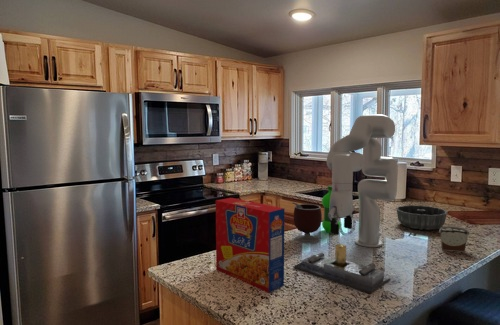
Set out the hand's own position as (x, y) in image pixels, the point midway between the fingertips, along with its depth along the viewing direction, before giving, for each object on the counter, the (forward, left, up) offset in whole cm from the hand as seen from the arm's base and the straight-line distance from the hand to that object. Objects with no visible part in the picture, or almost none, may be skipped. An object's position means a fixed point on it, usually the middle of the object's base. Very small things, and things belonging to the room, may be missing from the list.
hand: (341, 230), depth 133 cm
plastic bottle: (-47, -33, -17) cm, 59 cm away
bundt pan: (-92, -2, -17) cm, 93 cm away
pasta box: (+27, -23, -17) cm, 40 cm away
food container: (-62, +22, -17) cm, 68 cm away
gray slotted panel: (0, 0, -17) cm, 17 cm away
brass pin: (0, 0, -16) cm, 16 cm away
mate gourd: (-25, -34, -17) cm, 45 cm away
